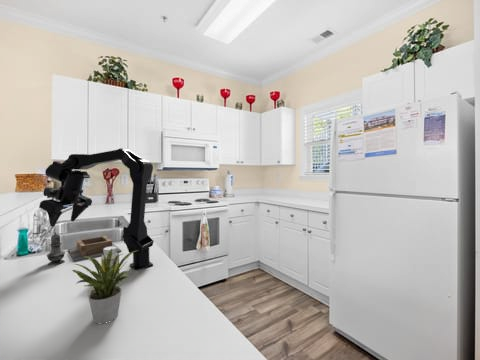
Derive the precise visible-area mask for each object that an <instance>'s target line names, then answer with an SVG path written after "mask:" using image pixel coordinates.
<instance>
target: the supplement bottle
mask: <svg viewBox="0 0 480 360" xmlns="http://www.w3.org/2000/svg"><path fill="white" fill-rule="evenodd" d="M115 246H116V245H115ZM115 246H111V247H106V248H104V249H103V253H104V255H105V256H106V259H107V256H108V253H109V251H110V250H111V249H113V250H112V257H111V261H110V266H111V265H113V262H114V259H115V257H116V255H118V254H119V253H117V247H118V246H117V247H115ZM119 255H120V254H119ZM119 255H118V256H119ZM100 257H101V258H100V259H101V261H100V263H101V264H100V265H101V267H102V269H103V271H104V272H105V268H104V256H103V255H102V256H100ZM119 263H120V256H119V257H118V259H117V261H116V265H115V269H114V273H115V271H116V269H117V267H118V265H119ZM119 274H120V271H119V272H118V274H117V275H116V277H117V276H118V275H119ZM116 277H115V278H116Z"/></svg>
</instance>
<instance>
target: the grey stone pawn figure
mask: <svg viewBox="0 0 480 360" xmlns="http://www.w3.org/2000/svg"><path fill="white" fill-rule="evenodd" d="M49 246H50V252H49V253H47V254H46V257H47V259H48V261H49V262H48V263H47V266H49V267H52V266H58V265H62V264H63V263H65V260H64V259H63V258H65V254H66V251H63V250H62V248H61V247H62V242H61V236H60V234H57V232H54V234H52V235H51V236H50V244H49Z"/></svg>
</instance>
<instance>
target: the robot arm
mask: <svg viewBox="0 0 480 360" xmlns="http://www.w3.org/2000/svg"><path fill="white" fill-rule="evenodd" d="M118 161H119V162H120V161H121V163H122V164H123V165H124V166H125V168H127V169H128V171H129V177H130V179H131V181H132V191H131V194H132V195H131V207H130V219H129V220H130V221H129V224H128V225H126V226H123V231H122V233H123V235H122V237H121V238H122V239H123V243H124V244H125V245H126V248H127V251H128V254H129V253H131V252H133V251H136V252H134V253H132V263H129V266H130V267H131V268H133V269H134V270H135V271H137V270H140V269H145V268H148V267H152V266H153V265H154V263H153V262H151V260H150V248H151V247H153V245H154V240H153V239H152V237H150V235H148V227H147V225H146V222H145V215H146V212H145V211H146V202H147V201H146V200H147V188H148V183H149V182H150V180H151V178H152V174H153V171H154V166H153V163H152V162H151V161H149V160H147V159H144V158H142V157H140V156H139V155H137V154H135V153H134V152H132V151H131V150H130V149H128V148H118V149H113V150H108V151H103V152H97V153H92V154H91V153H90V154H86V153H83V154H82V153H80V154H79V153H73V154H72V153H71V154H69V155H68V158H67V159H66V160H64V161H63V162H61V161H56V160H53V161H52V163H51V164H50V165H48V166H47V168H46V169H45V172H44V173H45V175H46V177H47V178H50V179H53V180H55V181H59V182H61V183H63V185H62V186H61V185H60V186H59V188H53V187H44V189H43V196H44V197H46V198H47V199H44V200H42V201H40V203H39V205H38V208H40V209H42V210H43V211H46V213H47V216H48V220H49V225H50V227H53V228H54V227H55V225H56V224H57V222H58V221H59V218H60V217H61V215H62V214H63V211H62V210H63V209H64V207H66V206H72V209H71V210H72V211H71V217H70V221H71V222H75V221H76V219H77V218H78V217H79V216H81V214H82V213H83V212H84V211H86V210H87V208H89V207H90V206H92V203H93V200H92V198H90V197H88V196H86V195H81V194H82V193H84V189H82V188H83V184H84V179H91V176H90V175H89V174H88V172H87V171H86V170H89V169H91V168H94V167H95V166H97V165H101V164H102V165H103V164H108V163H111V162H118ZM80 170H82V171H80ZM83 170H85V171H83ZM54 198H55V199H54ZM137 250H138V251H137Z"/></svg>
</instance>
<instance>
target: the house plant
mask: <svg viewBox="0 0 480 360" xmlns="http://www.w3.org/2000/svg"><path fill="white" fill-rule="evenodd" d="M112 250H113V249H111V250H110V251H109V253H108V256H107V259H106V256H105V255H104V254H103V256H104V268H105V272H104V271H103V269H102V267H101V264H100V263H101V262H99V261H98V260H97V259H96V258H91V257H88V256H89V255H88V256H84V257H87V258H88V259H87V260H89V261H90V262H91V263H93V265H94V267H95V269H96V271H95V270H91V269H89V268H88V267H87V266H84V265H82V264H78V263H74V265H75V266H76V265H77V266H78V267H81V268H83V269H85V270H86V272H89V273H90V274H91V275H92V276H93V277H94V278H93V277H92V276H91V275H88V274H86V273H84V272H82V271H81V270H76V269H72V272H74V273H75V274H76V275H77V276H78V277H79V278H80V279H81V280H78V281H77V282H76V283H75V285H76V284H79V283H86V285H85V284H84V287H93V289H92V290H91V291H90V293H89V294H88V303H89V306H90V309H91V315H92V319H93V322H94V323H95V324H96V323H105V324H107V323H106V322H108V323H110V322H109V321H111V322H113V321H114V320H115V319H117V318H118V316H119V311H120V303H121V297H122V287H121V286H119V285H117V284H119V283H120V284H121V285H123V282H124V280H126V279H127V278H129V276H127V275H125V274H128V273H130V274H131V272H130V271H127V270H123V271H121V269H122V268H123V267H124V266H125V264H126V263H127V261H126V259H127V258H129V257H130V256H131V255H133V253H134V252H136V251H133V252H131V253H129V252H128V254H125V256H124V257H122V259H121V260H120V261H119V265H118V267H117V269H116V271H115V273H114V269H115V265H116V261H117V259H118V257H119V258H120V256H123V255H124V253H122V254H119V253H118V255H119V256H118V255H116V257H115V259H114V262H113V265H111V266H110V261H111V257H112ZM137 251H138V250H137ZM125 261H126V262H125ZM120 271H121V272H120ZM118 272H119V275H118V276H117V277H116V275H117V274H118ZM114 318H115V319H114ZM113 319H114V320H113Z"/></svg>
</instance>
